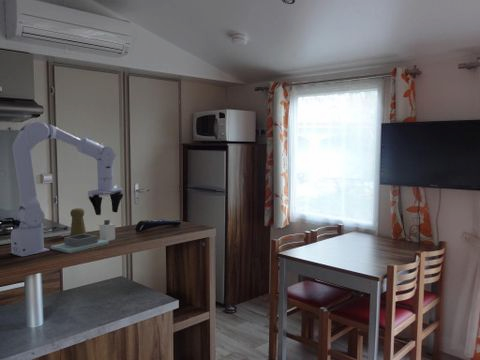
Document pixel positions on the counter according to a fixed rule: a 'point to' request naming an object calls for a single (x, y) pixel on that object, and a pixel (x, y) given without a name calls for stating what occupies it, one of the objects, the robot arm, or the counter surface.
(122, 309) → the counter surface
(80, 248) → the socket
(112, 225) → the plug
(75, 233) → the cork
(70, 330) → the counter surface
